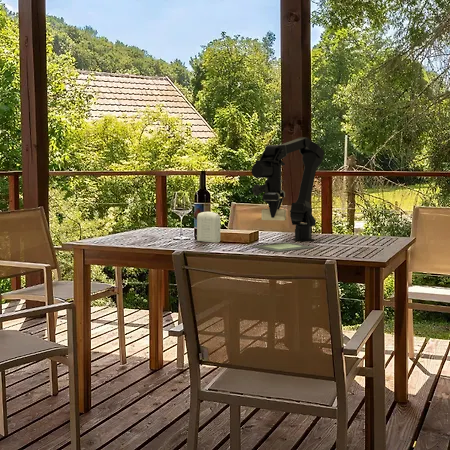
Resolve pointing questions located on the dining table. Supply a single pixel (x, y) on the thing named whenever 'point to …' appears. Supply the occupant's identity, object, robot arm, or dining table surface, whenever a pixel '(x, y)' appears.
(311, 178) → the robot arm
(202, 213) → the soap bar
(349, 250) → the dining table surface
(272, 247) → the rubber mat
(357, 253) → the dining table surface
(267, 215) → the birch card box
